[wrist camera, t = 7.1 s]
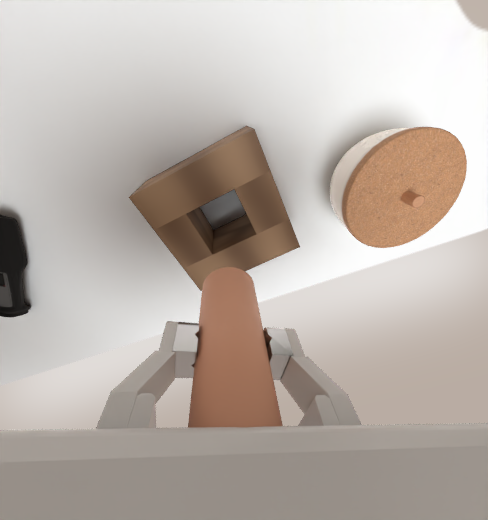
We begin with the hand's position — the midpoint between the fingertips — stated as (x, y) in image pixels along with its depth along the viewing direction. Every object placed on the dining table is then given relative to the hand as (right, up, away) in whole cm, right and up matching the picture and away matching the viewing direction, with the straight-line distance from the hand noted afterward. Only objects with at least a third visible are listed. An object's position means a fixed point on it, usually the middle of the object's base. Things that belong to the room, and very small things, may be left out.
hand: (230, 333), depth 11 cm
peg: (0, +2, +3) cm, 4 cm away
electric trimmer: (-28, +3, +18) cm, 34 cm away
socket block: (-2, +10, +16) cm, 19 cm away
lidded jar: (+14, +14, +16) cm, 25 cm away
